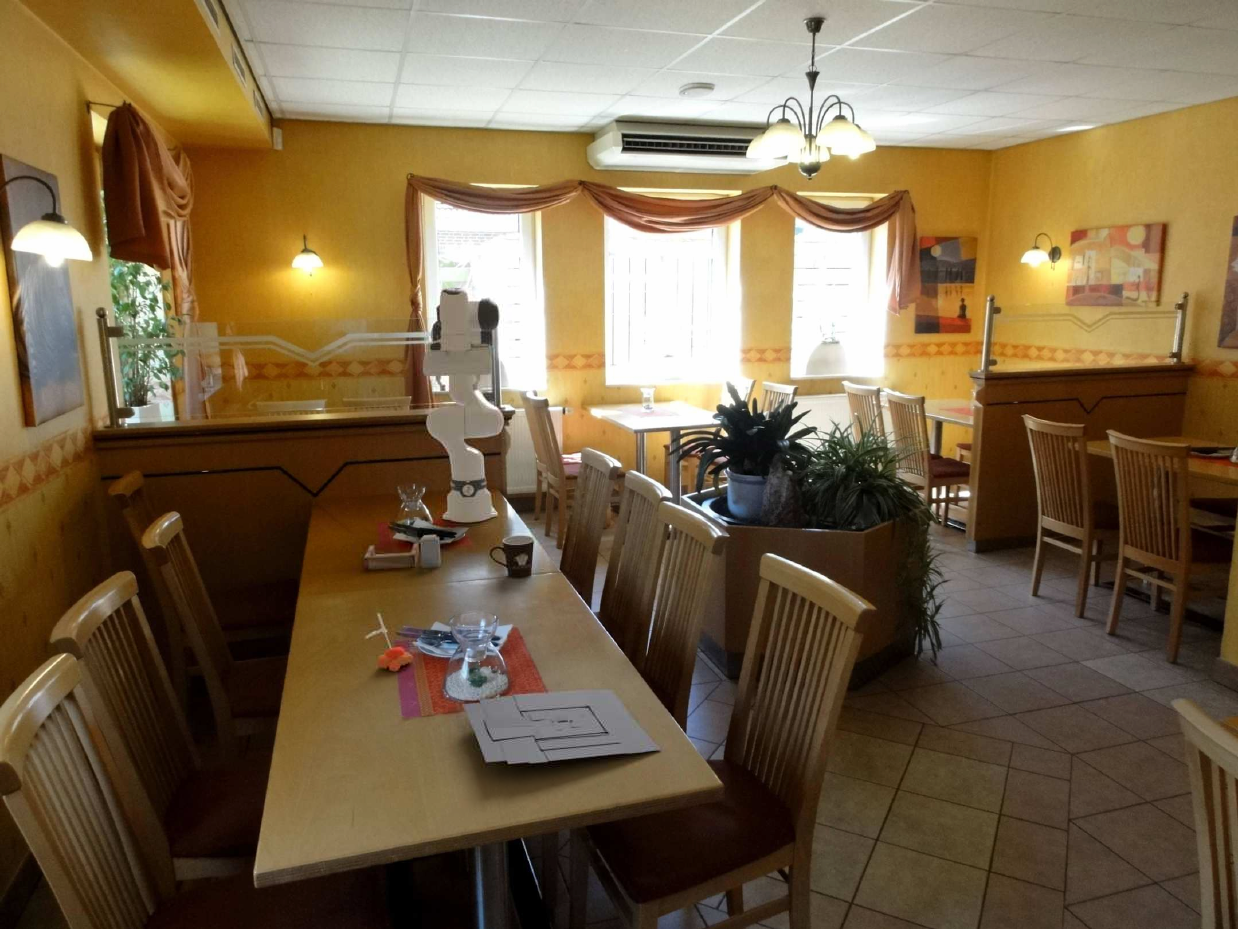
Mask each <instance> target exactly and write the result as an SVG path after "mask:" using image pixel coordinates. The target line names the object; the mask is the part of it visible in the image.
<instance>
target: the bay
mask: <svg viewBox="0 0 1238 929" xmlns="http://www.w3.org/2000/svg"><path fill="white" fill-rule="evenodd" d="M419 544H420V543H419V542H413V546H412V549H411V551H410V552H398V553H397V552H396V553H382V554H381V553H379V554H378V553H377V554H376V549H375V548H376V546H375V545H373V544H372V545H371V544H370V545H369V547H368V549H367V551H366V554H365V555H364V558H363V562H364V570H365V571H368V570H382V569H383V570H384V569H402V568H415V567H416V566H417V562H418V559H419V555H420V550H419V549H420V548H419V547H420V546H419Z"/></svg>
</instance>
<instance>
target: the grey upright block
mask: <svg viewBox="0 0 1238 929" xmlns="http://www.w3.org/2000/svg"><path fill="white" fill-rule="evenodd" d="M419 544H420V554H421V555H420V556H421V557H420V558H421V568H422V569H429V568H431V569H432V568H440V567H441V564H442V563H441V562H442V560H441V547H440V546H441V545H440V536H437V534H427V535H425V534H424V535H423V536H422V537H421V538H420V542H419Z"/></svg>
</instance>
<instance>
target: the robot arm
mask: <svg viewBox="0 0 1238 929" xmlns="http://www.w3.org/2000/svg"><path fill="white" fill-rule="evenodd" d="M435 311H436V321H435V322H434V323H433V325H432V327H431V330H430V340H431V341H430V342H428V343H427V344H426V345H425V349H426V352H425V354H424V356H423V364H422V367H423V368H422V373H423V375H424V376H425V377H435V381H436V382H437V384H438V385H439V391H440V392H446V384H443V383H442V382H441V379H442V377H446V376H447V377H448V394H449V397H450V398H451V399H452V401H453V402H454V403H455V404H457V405H453V406H452V405H451V406H450V405H448V406H441V407H437V408H433V409H431V410H430V411H429V413H428V415H427V416H426V419H425V420H426V422H425V423H426V428H427V431H428V433H429V434H430V435H431V436H432V437H433V438H434V439H436V440H437V441H439V442H440V443H441V444H442V445H443V447H444V449H445V450H446V451H447V454H448V456H449V459H450V460H449V461H450V469H451V478H450V487H451V488H450V489H451V490H450V492H449V493H448V494H447V498H446V500H447V502H446V503H447V511H446V512H444V514H443V515H442V519H443V520H448V521H452V522H456V523H457V522H458V523H476V522H481V521H482V522H483V521H486V520H489V519H492V518H496V517H498V516H499V514H498V512H497V511H496V509H495V508H494V507H493V502H492V493H491V492H490V491H489V490H488V489H487V477H486V476H485V460H484V455H483V453H482V452H481V451H479V449H477V448H474V447H472V446H470V445H468V444H467V443H466V442H465V439H476V438H477V439H479V438H480V439H481V438H482V439H483V438H488V437H493V436H497V435H499V434H500V433H501V432H502V430H503V427H504V424H505V419H504V415H503V413H502V411H501V410H500V409H499V408H498V406H496V405H494V404H492V403H490V402H489V401H488V400H487V399H486V397H485V396H484V393H483V390H482V379H481V378H482V376H481V375H484V376H485V375H486V376H487V375H491V374H492V372H493V367H492V360H491V358H492V357H493V348H492V347H493V344H494V341H495V338H496V333H495V332H496V331H495V329H496V328H497V327H499V323H500V309H499V305H498V303H497V302H496V301H495V300H494V299H493V298H491V297H487V298H483V297H482V298H469V296H468V293H467V290H466V289H464V288H461V287H448V288H443V289H442V290H441V291H440V297H439V304H438V305H437V306H436V310H435Z"/></svg>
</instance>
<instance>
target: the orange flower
mask: <svg viewBox="0 0 1238 929" xmlns="http://www.w3.org/2000/svg"><path fill="white" fill-rule="evenodd" d="M377 618H378V621H379V623H380V626H381V628H380V629H378V630H374V631H371V633H369V634H367V635H366V636H365V637H364V638H365V639H369V638H370V637H373V636H374V635H376V634H377V635H378V634H380V633H381V632H382V634H384V636H385V639H386V642H387V644H388V646H389V647H388V648H389V649H387V650H386V651H385V652H384V654H382V655H379V657H378V659H377V665H378V667H380V668H381V669H388V668H389V671H390V672H397V671H399V670H400V667H401V666H405V665H407V664H410V663H411V662H412V661H413V659H414V657H413V655H412V654H410V652H406V651H405V648H404V647H401V646H396V647H392V646H391V642H390V640H389V637H388V634H387V633H388V630H387V629H386V627H385V625H384V622H383V618H382V616H381V614H380V612H377Z"/></svg>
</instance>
